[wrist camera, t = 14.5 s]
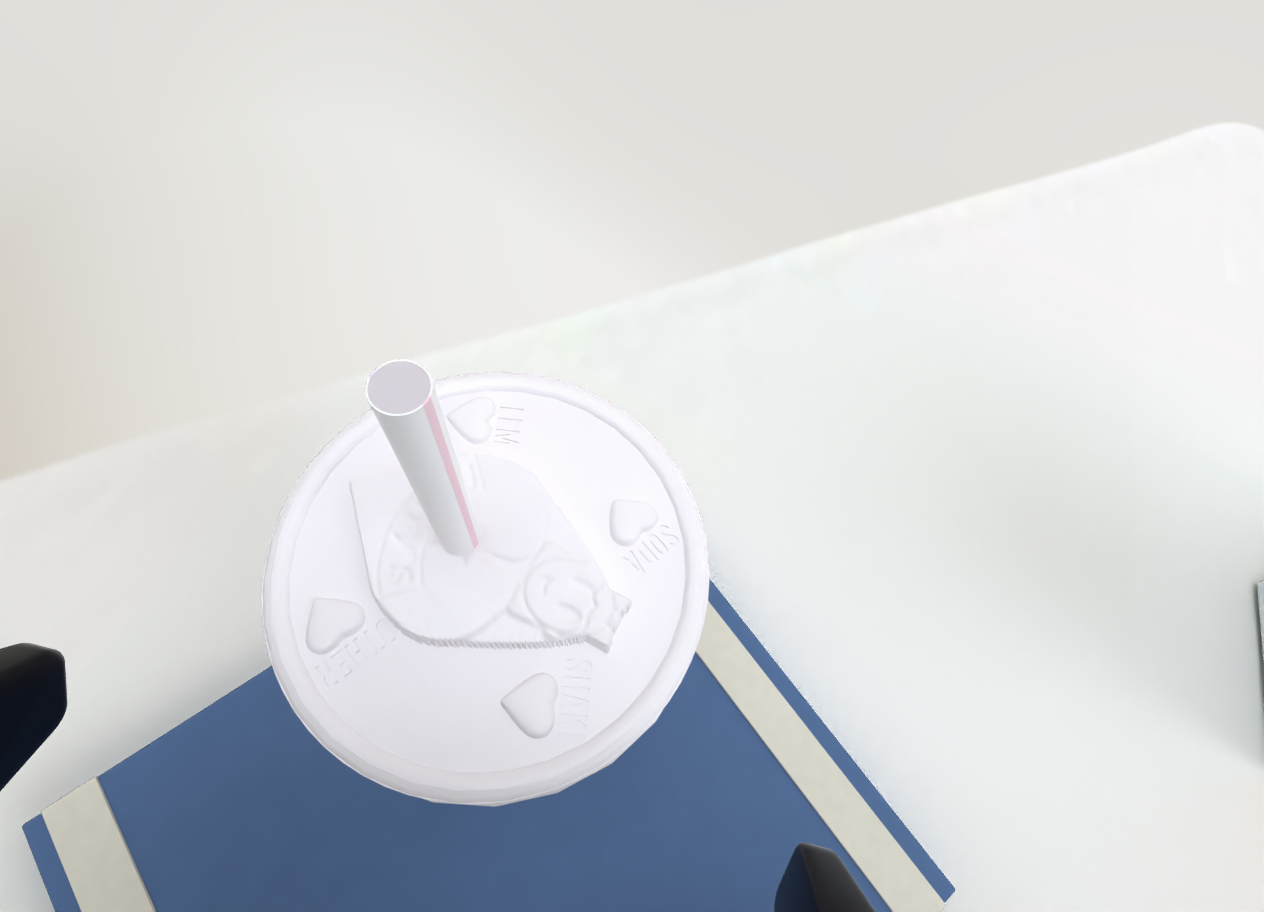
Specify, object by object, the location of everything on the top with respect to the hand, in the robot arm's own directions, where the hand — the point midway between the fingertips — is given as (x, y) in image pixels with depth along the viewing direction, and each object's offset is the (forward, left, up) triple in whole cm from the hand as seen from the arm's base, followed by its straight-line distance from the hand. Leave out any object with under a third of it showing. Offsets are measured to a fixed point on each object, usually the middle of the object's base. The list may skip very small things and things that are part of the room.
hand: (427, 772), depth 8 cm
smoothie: (+2, -2, -10) cm, 11 cm away
